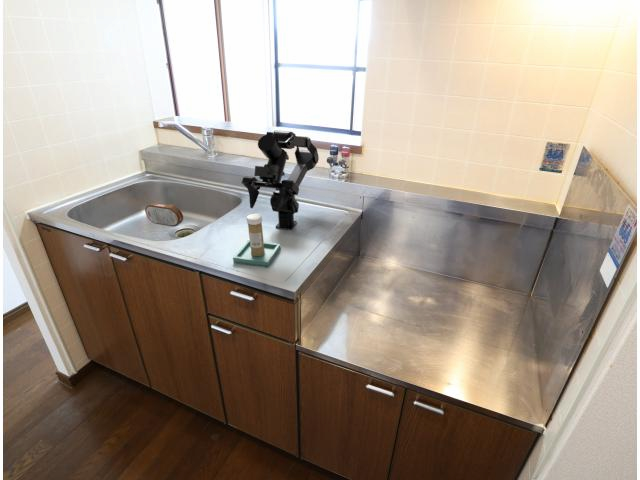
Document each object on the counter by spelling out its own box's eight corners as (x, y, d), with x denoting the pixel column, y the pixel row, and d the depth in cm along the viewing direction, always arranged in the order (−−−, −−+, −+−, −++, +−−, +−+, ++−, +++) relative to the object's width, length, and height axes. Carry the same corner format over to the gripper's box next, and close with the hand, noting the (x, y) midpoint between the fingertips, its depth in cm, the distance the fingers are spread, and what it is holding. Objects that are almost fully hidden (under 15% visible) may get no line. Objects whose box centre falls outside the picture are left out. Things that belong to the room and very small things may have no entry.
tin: (185, 225, 141) (181, 204, 137) (180, 228, 138) (176, 208, 134) (152, 220, 145) (147, 200, 141) (146, 223, 142) (141, 203, 138)
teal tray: (248, 245, 127) (248, 240, 126) (280, 249, 125) (280, 244, 124) (233, 262, 117) (232, 257, 116) (268, 267, 115) (267, 262, 114)
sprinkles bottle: (267, 250, 122) (263, 213, 116) (261, 258, 118) (258, 220, 112) (254, 249, 123) (250, 212, 117) (248, 256, 119) (244, 218, 113)
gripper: (239, 152, 119) (226, 197, 116) (291, 156, 113) (278, 204, 109) (255, 167, 129) (243, 209, 126) (304, 172, 123) (292, 216, 120)
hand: (263, 209), depth 120 cm, fingers open, 9 cm apart
